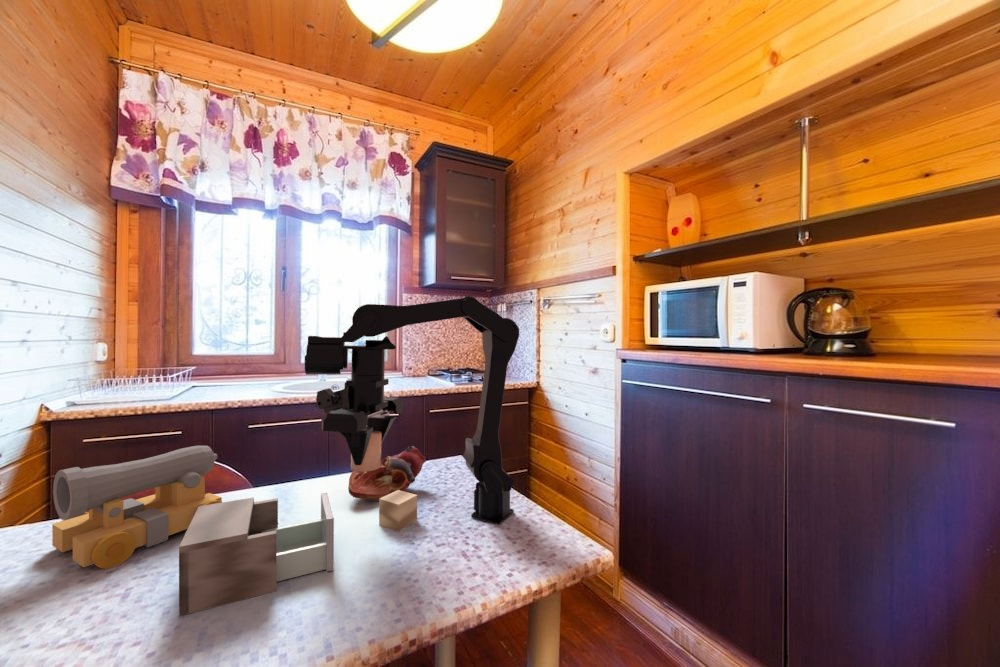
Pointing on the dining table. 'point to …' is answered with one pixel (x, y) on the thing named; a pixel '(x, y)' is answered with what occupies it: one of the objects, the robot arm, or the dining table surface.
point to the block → (398, 510)
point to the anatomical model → (387, 476)
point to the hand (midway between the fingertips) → (366, 460)
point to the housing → (228, 554)
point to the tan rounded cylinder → (370, 454)
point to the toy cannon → (129, 504)
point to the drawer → (305, 545)
